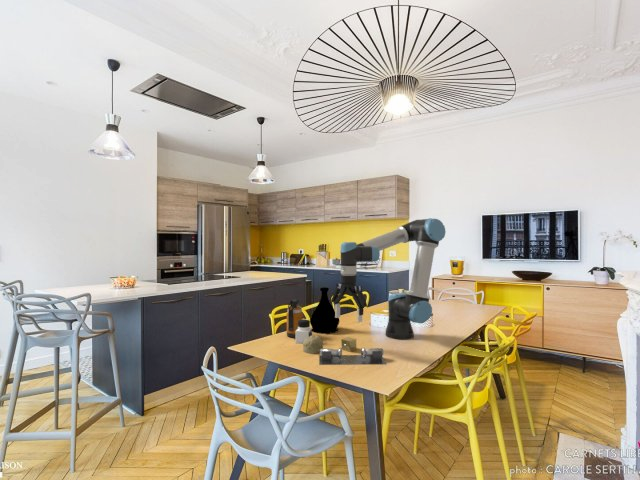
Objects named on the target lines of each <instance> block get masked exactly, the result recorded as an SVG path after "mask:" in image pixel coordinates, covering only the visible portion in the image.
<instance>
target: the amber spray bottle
mask: <svg viewBox="0 0 640 480" xmlns="http://www.w3.org/2000/svg"><path fill="white" fill-rule="evenodd" d="M299 303H300V300H299V299H293V300H290V301H289V303H288V305H287V312H286V336H287V337H290V338H295V331H296V330H297V329H298V321H299V320H301V319H304V312H303V309H302V306H300V305H299Z"/></svg>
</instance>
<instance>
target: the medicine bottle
mask: <svg viewBox="0 0 640 480" xmlns="http://www.w3.org/2000/svg"><path fill="white" fill-rule="evenodd" d="M310 325H311V324H310V319H307V318H303V319H301V320H299V321H298V329H297V330H296V331H295V337H294V338H295V344H299V345H301V344H302V345H303V343H304V341H305V340H306V338H308V337H310V336H313V332H312V327H311V326H310Z"/></svg>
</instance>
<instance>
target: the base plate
mask: <svg viewBox="0 0 640 480" xmlns="http://www.w3.org/2000/svg"><path fill="white" fill-rule="evenodd" d="M318 357H319V361H318V363H319V366H322V365H323V366H329V365H330V366H334V365H335V366H337V365H339V366H340V365H343V366H344V365H347V366H348V365H349V366H350V365H351V366H352V365H355V366H357V365H359V366H360V365H361V366H362V365H365V366H366V365H367V366H368V365H372V366H375V365H377V366H378V365H387V362H386V361H385V358H384V357H383V356H382V361H372V360H371V359H370V356H368V357H365V358H364V359H363V358H362V356H361V354H342V357H341V359H339V357H333V359H332V361H322V356H320V354H319V355H318Z"/></svg>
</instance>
